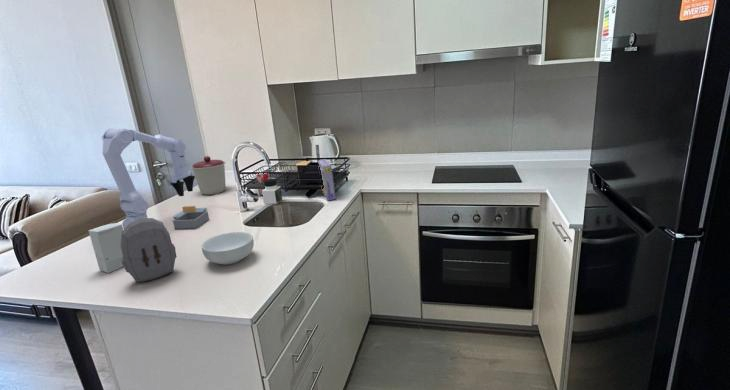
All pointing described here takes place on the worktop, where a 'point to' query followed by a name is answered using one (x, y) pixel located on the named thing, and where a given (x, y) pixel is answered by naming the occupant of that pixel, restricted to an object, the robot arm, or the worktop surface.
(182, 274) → the worktop surface
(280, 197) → the medicine bottle
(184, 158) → the robot arm
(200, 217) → the tub
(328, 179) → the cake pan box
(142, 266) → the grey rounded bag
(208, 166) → the canister
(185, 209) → the lid
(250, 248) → the cereal bowl
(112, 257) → the skincare box
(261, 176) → the soda can
